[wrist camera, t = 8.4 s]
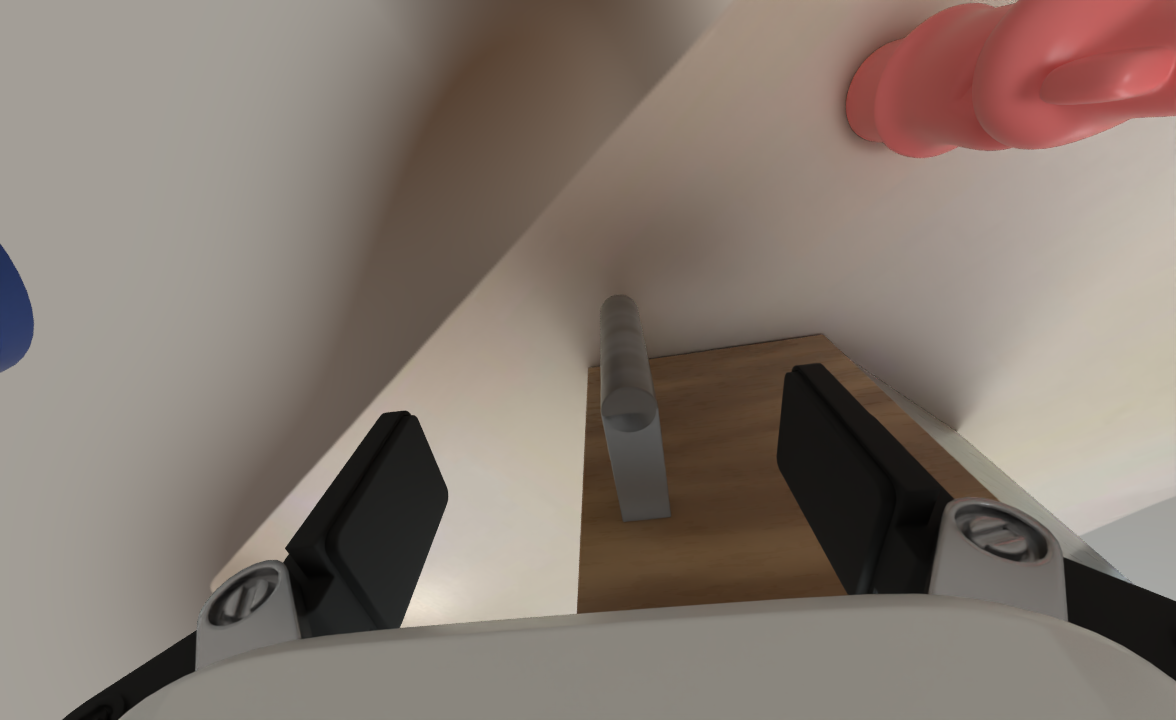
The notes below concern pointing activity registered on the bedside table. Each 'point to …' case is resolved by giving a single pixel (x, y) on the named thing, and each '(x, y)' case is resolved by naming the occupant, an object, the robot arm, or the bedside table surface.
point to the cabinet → (1000, 482)
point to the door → (709, 472)
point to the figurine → (1017, 76)
